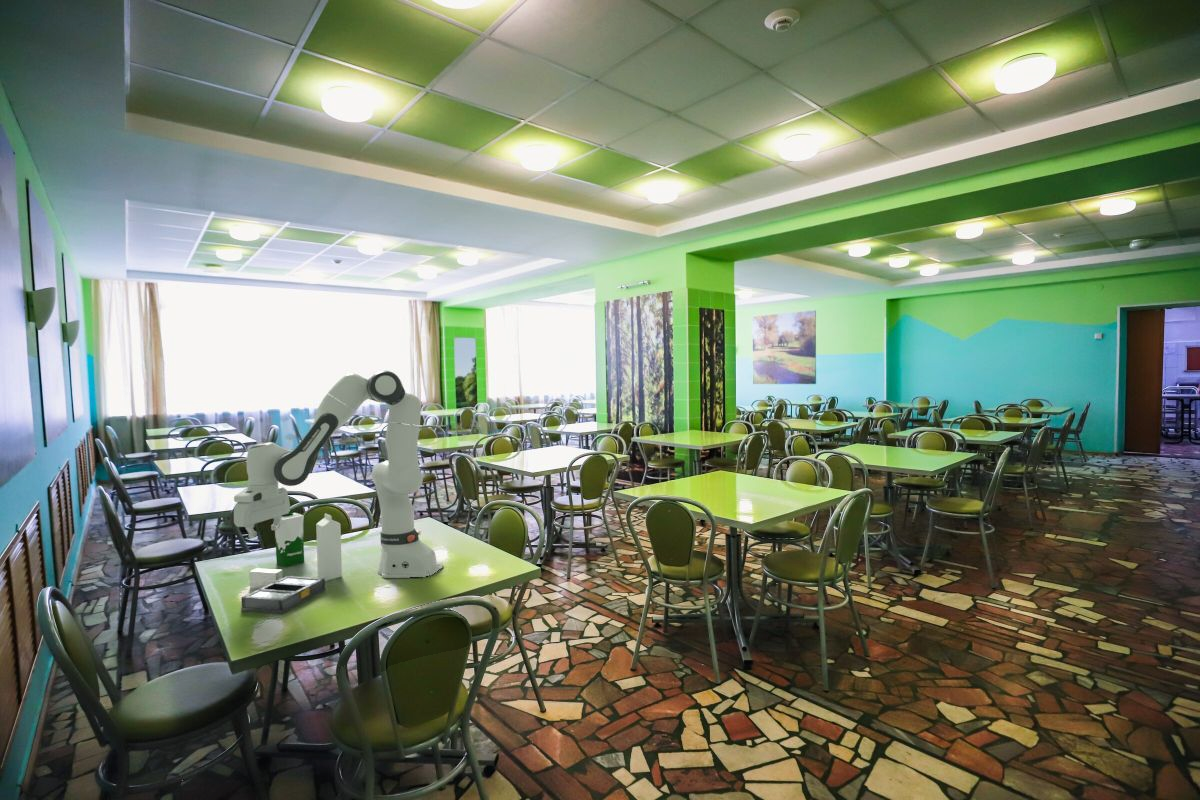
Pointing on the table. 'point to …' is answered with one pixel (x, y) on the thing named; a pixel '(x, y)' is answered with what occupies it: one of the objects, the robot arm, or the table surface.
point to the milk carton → (290, 540)
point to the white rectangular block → (264, 577)
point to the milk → (329, 548)
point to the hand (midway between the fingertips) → (264, 533)
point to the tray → (283, 594)
